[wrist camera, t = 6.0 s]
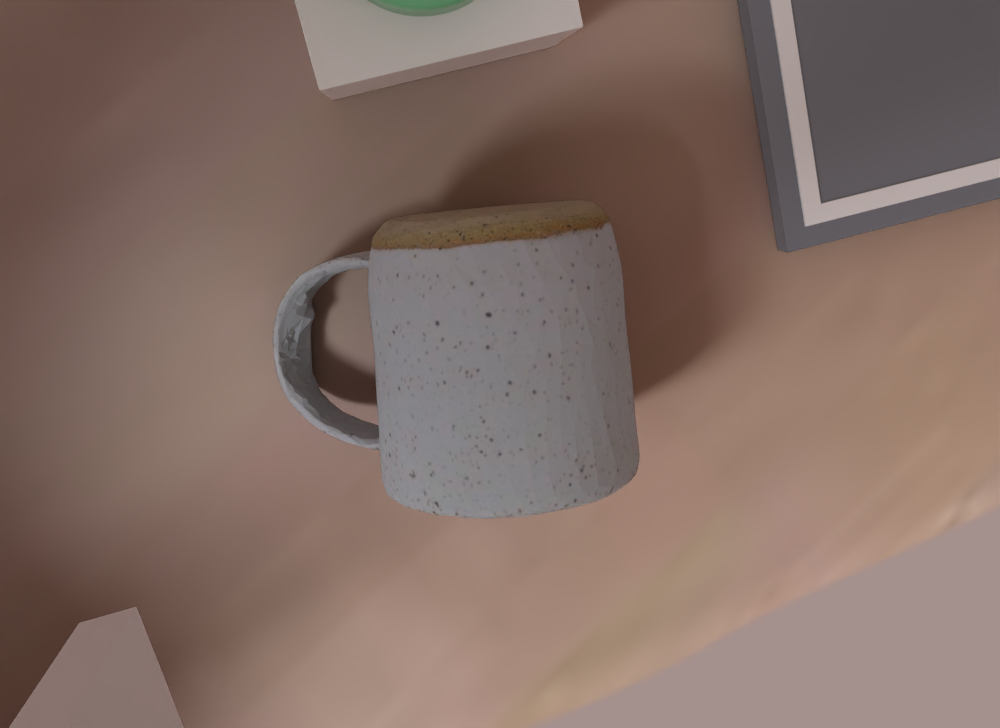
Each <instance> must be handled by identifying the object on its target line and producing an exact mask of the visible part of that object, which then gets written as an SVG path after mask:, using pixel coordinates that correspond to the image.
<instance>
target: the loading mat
mask: <svg viewBox="0 0 1000 728" xmlns="http://www.w3.org/2000/svg"><path fill="white" fill-rule="evenodd" d="M737 1H738V7H739V14H740V20H741V26H742V32H743V38H744V44H745V51H746V57H747V63H748V69H749V75H750V81H751V87H752V94H753V100H754V106H755V112H756V118H757V124H758V130H759V137H760V143H761V149H762V155H763V161H764V167H765V173H766V180H767V186H768V192H769V198H770V204H771V210H772V217H773V223H774V229H775V235H776V241H777V247H778V250H780V251H784V252H787V253H788V252H792V251H795V250H799V249H803V248H807V247H811V246H815V245H819V244H823V243H827V242H831V241H835V240H838V239H842V238H846V237H850V236H854V235H858V234H862V233H866V232H870V231H874V230H878V229H881V228H885V227H889V226H893V225H897V224H901V223H905V222H909V221H913V220H917V219H921V218H925V217H928V216H932V215H936V214H940V213H944V212H948V211H952V210H956V209H960V208H964V207H968V206H971V205H975V204H979V203H983V202H987V201H991V200H995V199H999V198H1000V0H737Z"/></svg>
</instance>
